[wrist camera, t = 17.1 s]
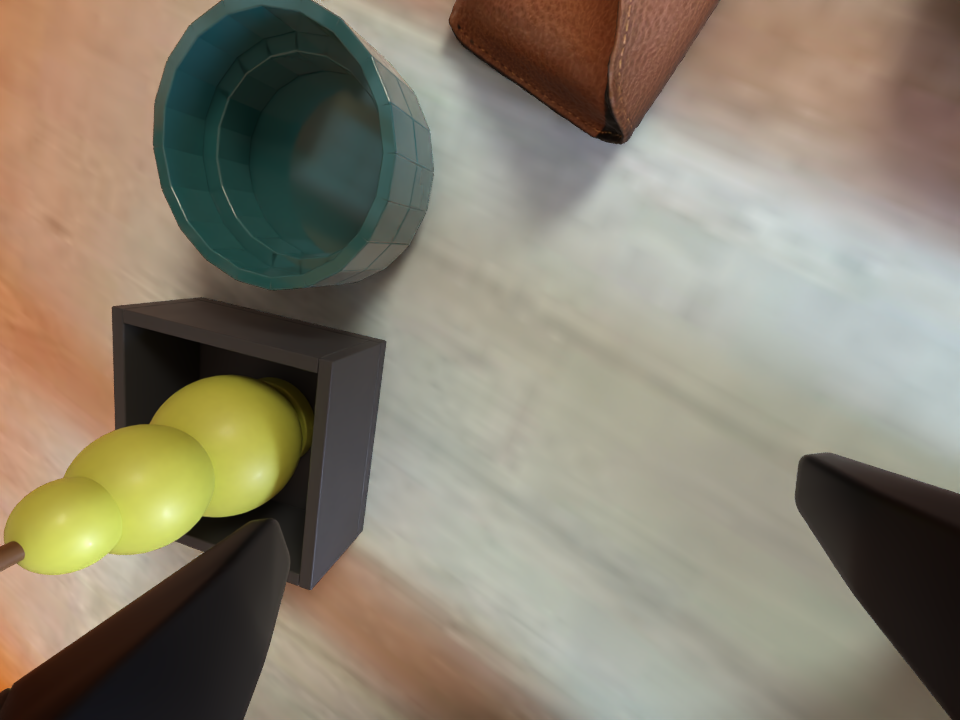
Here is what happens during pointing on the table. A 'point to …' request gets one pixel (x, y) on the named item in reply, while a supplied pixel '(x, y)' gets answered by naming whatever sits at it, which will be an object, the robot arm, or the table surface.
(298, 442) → the pear
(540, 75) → the sunglasses case
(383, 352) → the bin
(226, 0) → the bowl
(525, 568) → the table surface
